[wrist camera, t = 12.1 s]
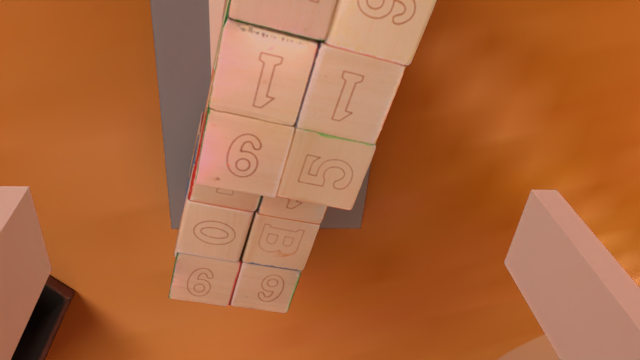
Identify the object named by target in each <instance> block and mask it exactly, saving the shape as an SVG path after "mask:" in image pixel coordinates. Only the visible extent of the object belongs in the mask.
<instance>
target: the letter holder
mask: <svg viewBox="0 0 640 360" xmlns="http://www.w3.org/2000/svg"><path fill="white" fill-rule="evenodd" d="M73 296H74V290H72V289H71V288H69V287H67V286H65V285H64V284H62V283H61V282H59V281H57V280H56V279H54V278H53V277H51V276H50V275H49V277H48V279H47V281H46V283H45V285H44V288H43V290H42V292H41V294H40V296H39V299H38V301H37V303H36V305H35V307H34V310H33V312H32V314H31V316H30V318H29V321H28V323H27V325H26V327H25V329H24V332H23V334H22V336H21V338H20V340H19V343H18V345H17V347H16V349H15V351H14V354H13V356H12V358H11V360H45V358H46V356H47V354H48V351H49V349H50V347H51V344H52V342H53V340H54V338H55V336H56V333H57V331H58V329H59V327H60V325H61V323H62V320H63V318H64V316H65V313H66V311H67V309H68V307H69V304H70V302H71V300H72V298H73Z"/></svg>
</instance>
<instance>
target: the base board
mask: <svg viewBox="0 0 640 360" xmlns="http://www.w3.org/2000/svg"><path fill="white" fill-rule="evenodd" d="M150 2H151V13H152V24H153V34H154V45H155V56H156V67H157V77H158V88H159V99H160V110H161V120H162V131H163V142H164V153H165V163H166V174H167V185H168V196H169V206H170V217H171V228H172V229H179V225H180V220H181V216H182V211H183V206H184V200H185V194H186V188H187V184H188V179H189V171H190V166H191V160H192V155H193V150H194V146H195V141H196V137H197V132H198V127H199V123H200V118H201V114H202V112H203V111H204V110H205V107H206V102H207V98H208V93H209V88H210V83H211V75H212V70H213V65H214V60H215V55H216V50H217V45H218V40H219V35H220V30H221V26H222V15H223V7H224V2H225V0H150ZM370 166H371V162H370V165H369V167H368V170H367V172H366V175H365V177H364V179H363V182H362V185H361V188H360V190H359V193H358V195H357V198H356V200H355V203H354V205H353V208H352V210H343V209H338V208H333V207H329V206H328V207H327V210H326V212H325V215H324V218H323V220H322V222H321V223H320V227H319V228H361V223H362V217H363V211H364V204H365V198H366V191H367V185H368V179H369V172H370Z"/></svg>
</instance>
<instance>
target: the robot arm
mask: <svg viewBox="0 0 640 360" xmlns="http://www.w3.org/2000/svg"><path fill="white" fill-rule="evenodd" d="M504 264H505V266H506V268H507V269H508V271H509V273H510V275H511V276H512V278H513V280H514V281H515V283H516V285H517V287H518V288H519V290H520V292H521V293H522V295H523V297H524V299H525V300H526V302H527V304H528V306H529V307H530V309H531V311H532V312H533V314H534V316H535V318H536V319H537V321H538V323H539V325H540V326H541V328H542V330H543V331H544V333H545V335H546V337H547V338H548V340H549V342H550V343H551V345H552V347H553V349H554V350H555V352H556V354H557V355H558V357H559V359H560V360H640V288H639V287H638V285H637V284H636V283H635V282H634V281H633V279H632V278H631V277H630V276H629V275H628V274H627V272H626V271H625V270H624V269H623V268H622V266H621V265H620V264H619V263H618V262H617V261H616V259H615V258H614V257H613V256H612V255H611V253H610V252H609V251H608V250H607V249H606V247H605V246H604V245H603V244H602V243H601V242H600V240H599V239H598V238H597V237H596V236H595V234H594V233H593V232H592V231H591V230H590V229H589V227H588V226H587V225H586V224H585V223H584V221H583V220H582V219H581V218H580V217H579V215H578V214H577V213H576V212H575V211H574V210H573V208H572V207H571V206H570V205H569V204H568V202H567V201H566V200H565V199H564V198H563V197H562V195H561V194H560V193H559V192H558V191H557V190H531V192H530V194H529V197H528V200H527V202H526V205H525V208H524V211H523V213H522V216H521V219H520V221H519V224H518V227H517V229H516V232H515V235H514V237H513V240H512V243H511V245H510V248H509V251H508V253H507V256H506V259H505V261H504ZM51 270H52V268H51V265H50V261H49V257H48V254H47V250H46V247H45V243H44V239H43V236H42V232H41V228H40V225H39V221H38V217H37V214H36V210H35V206H34V203H33V199H32V195H31V192H30V188H29V186H0V360H11V358H12V356H13V354H14V351H15V349H16V347H17V345H18V343H19V340H20V338H21V336H22V334H23V332H24V329H25V327H26V325H27V323H28V321H29V318H30V316H31V314H32V312H33V310H34V307H35V305H36V303H37V301H38V299H39V296H40V294H41V292H42V290H43V288H44V285H45V283H46V281H47V279H48V277H49V274H50V272H51Z"/></svg>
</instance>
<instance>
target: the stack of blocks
mask: <svg viewBox="0 0 640 360" xmlns="http://www.w3.org/2000/svg"><path fill="white" fill-rule="evenodd" d="M436 1H437V0H225V2H224V7H223V15H222V26H221V30H220V35H219V40H218V45H217V50H216V55H215V60H214V65H213V70H212V75H211V83H210V88H209V93H208V98H207V102H206V107H205V110H204V111H203V112H202V114H201V118H200V123H199V127H198V132H197V137H196V141H195V146H194V150H193V155H192V160H191V166H190V171H189V179H188V184H187V188H186V194H185V200H184V206H183V211H182V216H181V220H180V225H179V230H178V235H177V241H176V247H175V252H174V257H176V260H175V265H174V270H173V276H172V281H171V287H170V292H169V298H171V299H177V300H184V301H192V302H199V303H206V304H213V305H219V306H228V305H232V306H236V307H243V308H250V309H257V310H265V311H273V312H280V313H286V312H287V311H288V309H289V306H290V303H291V300H292V298H293V295H294V292H295V289H296V287H297V284H298V281H299V278H300V274H301V271H302V270H304V267H305V265H306V262H307V260H308V257H309V254H310V252H311V249H312V246H313V243H314V240H315V238H316V235H317V233H318V230H319V227H320V223H321V222H322V220H323V218H324V215H325V212H326V210H327V207H328V206H329V207H333V208H338V209H343V210H352V208H353V205H354V203H355V200H356V198H357V195H358V193H359V190H360V188H361V185H362V182H363V179H364V177H365V175H366V172H367V170H368V167H369V165H370V162H371V160H372V157H373V155H374V152H375V150H376V142H377V139H378V137H379V135H380V133H381V130H382V128H383V126H384V123H385V121H386V118H387V115H388V113H389V110H390V108H391V105H392V102H393V100H394V97H395V95H396V93H397V90H398V88H399V85H400V83H401V80H402V77H403V75H404V71H405V67H407V66H408V65H409V64H411V62H412V60H413V57H414V55H415V52H416V50H417V48H418V45H419V43H420V41H421V38H422V36H423V33H424V31H425V28H426V26H427V23H428V21H429V18H430V16H431V14H432V11H433V9H434V6H435V4H436Z"/></svg>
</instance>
